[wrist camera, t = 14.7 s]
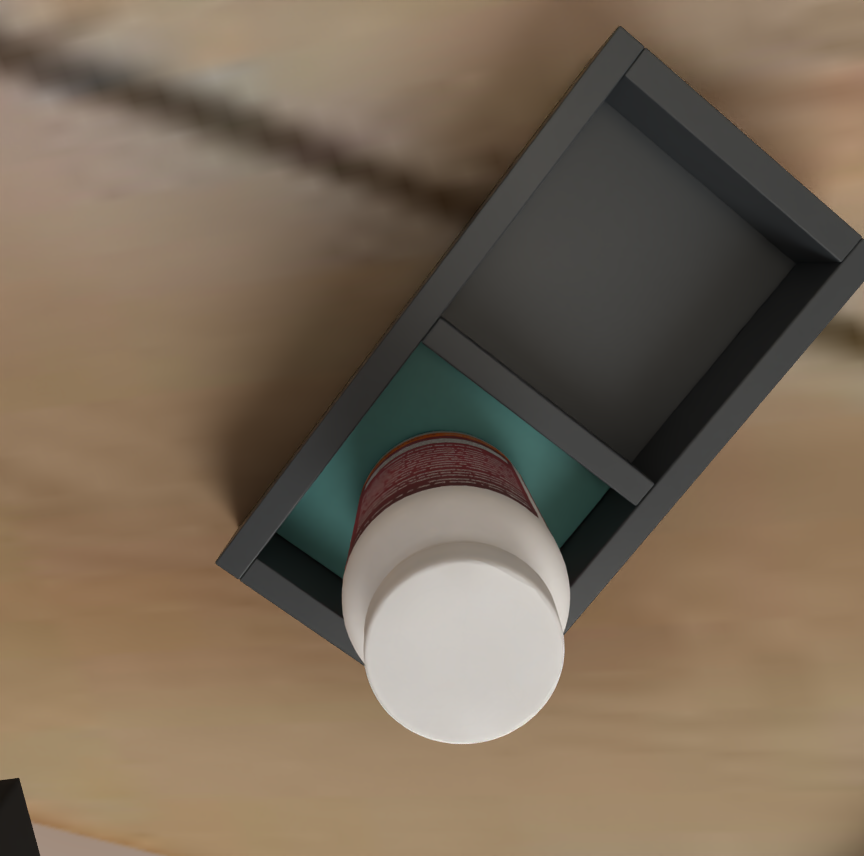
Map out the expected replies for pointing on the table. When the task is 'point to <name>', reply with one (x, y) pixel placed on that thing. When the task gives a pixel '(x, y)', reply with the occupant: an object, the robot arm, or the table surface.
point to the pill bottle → (455, 590)
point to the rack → (577, 334)
